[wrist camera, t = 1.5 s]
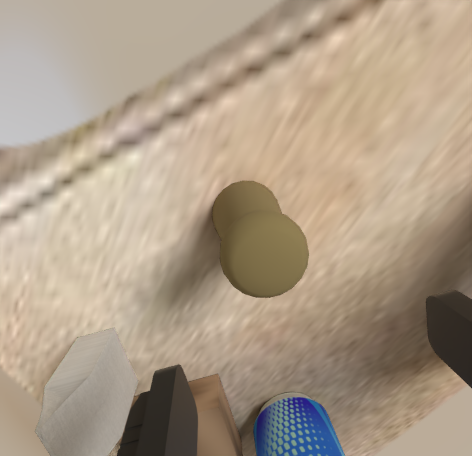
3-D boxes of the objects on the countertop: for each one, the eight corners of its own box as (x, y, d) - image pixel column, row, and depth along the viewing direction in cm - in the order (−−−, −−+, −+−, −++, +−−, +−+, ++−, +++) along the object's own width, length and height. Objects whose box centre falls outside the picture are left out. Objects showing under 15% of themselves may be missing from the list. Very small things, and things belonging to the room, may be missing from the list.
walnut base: (218, 373, 31) (219, 406, 27) (241, 440, 34) (244, 478, 30) (126, 398, 31) (114, 435, 27) (157, 463, 34) (150, 504, 30)
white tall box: (114, 327, 29) (66, 422, 19) (138, 380, 31) (105, 490, 21) (77, 337, 29) (10, 437, 19) (104, 390, 31) (55, 504, 21)
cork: (270, 251, 27) (306, 322, 17) (206, 240, 27) (203, 307, 16) (287, 188, 26) (339, 223, 15) (219, 173, 25) (225, 200, 15)
